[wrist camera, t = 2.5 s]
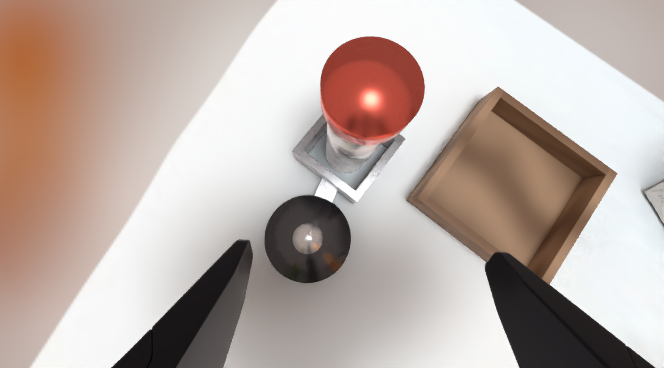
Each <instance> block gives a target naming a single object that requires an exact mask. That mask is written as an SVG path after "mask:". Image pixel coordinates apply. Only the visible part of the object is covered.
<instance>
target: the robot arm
mask: <svg viewBox="0 0 664 368" xmlns="http://www.w3.org/2000/svg"><path fill="white" fill-rule="evenodd" d="M252 259H253V253H252V249H251V244H250V241H249V240H241V239H239V240H237V241H236V242H235V243H234V244H233V245H232V246H231V247H230V248H229V249H228V250H227V251H226V252H225V253H224V254H223V255H222V256H221V257H220V258H219V259H218V260H217V261H216V262H215V263H214V264H213V265H212V266H211V267H210V268H209V269H208V270H207V271H206V272H205V273H204V274H203V275H202V277H201V278H200V279H199V280H198V281H197V282H196V283H195V284H194V285H193V286H192V287H191V288H190V289H189V290H188V291H187V292H186V293H185V294H184V295H183V296H182V297H181V298H180V299H179V300H178V301H177V302H176V303H175V304H174V305H173V306H172V307H171V308H170V309H169V310H168V312H167V313H166V314H165V315H164V316H163V317H162V318H161V319H160V320H159V321H158V322H157V323H156V324H155V325H154V326H153V327H152V330H149V331H148V332H147V333H146V334H145V335H144V336H143V337H142V338H141V339H140V340H139V341H138V342H137V343H136V344H135V345H134V346H133V347H132V348H131V349H130V350H129V351H128V352H127V353H126V354H125V355H124V356H123V357H122V358H121V359H120V360H119V361H118V362H117V363H116V364H115V365H114V366H113V367H111V368H223V367H224V363H225V360H226V357H227V354H228V351H229V348H230V345H231V341H232V338H233V335H234V332H235V329H236V326H237V322H238V319H239V316H240V313H241V310H242V307H243V303H244V299H245V294H246V290H247V284H248V279H249V274H250V269H251V264H252ZM485 272H486V275H487V279H488V282H489V285H490V289H491V292H492V296H493V299H494V303H495V306H496V309H497V312H498V315H499V318H500V320H501V323H502V325H503V328H504V330H505V333H506V335H507V338H508V340H509V343H510V345H511V348H512V350H513V353H514V355H515V358H516V360H517V363H518V365H519V368H655V367H654V366H652V365H651V364H650V363H649V362H647V361H646V360H645V359H643V358H642V357H641V356H640V355H638V354H637V353H636V352H634V351H633V350H632V349H631V348H629V347H628V346H626V345H625V344H624V343H623V342H622V341H620V340H619V339H618V338H617V337H615V336H614V335H613V334H611V333H610V332H609V331H608V330H606V329H605V328H604V327H603V326H601V325H600V324H599V323H597V322H596V321H595V320H594V319H592V318H591V317H590V316H589V315H587V314H586V313H585V312H583V311H582V310H581V309H580V308H578V307H577V306H576V305H575V304H573V303H572V302H571V301H569V300H568V299H567V298H566V297H564V296H563V295H562V294H561V293H559V292H558V291H557V290H555V289H554V288H553V287H552V286H550V285H549V284H548V283H547V282H545V281H544V280H543V279H541V278H540V277H539V276H538V275H536V274H535V273H534V272H533V271H531V270H530V269H529V268H527V267H526V266H525V265H524V264H522V263H521V262H520V261H519V260H517V259H516V258H515V257H513V256H512V255H511V254H509V253H507V252H495V253H494V254H493V255H492V256H491V257H490V259H489V260H488V262H487V263H486V265H485Z"/></svg>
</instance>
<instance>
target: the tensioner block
mask: <svg viewBox="0 0 664 368" xmlns="http://www.w3.org/2000/svg"><path fill="white" fill-rule="evenodd" d="M326 131H327V121H326V119H325V117H324V115H322V116H321V117H320V118H319V119H318V121H317V122H316V123H315V124H314V126H313V127H312V128H311V129H310V130H309V132H308V133H307V134H306V135H305V136H304V138H303V139H302V140H301V141H300V142H299V144H298V145H297V146H296V147H295V148H294V150H293V151H292V152H293V154H294V156H295V158H296V159H297V160H298V161H300V162H301V163H302V164H303V165H305V166H306V167H307V168H309V169H310V170H311V171H312V172H314V173H315V174H316V175H318V176H319V177H320V178H321V179H322V180H321V182H320V184H319V186H318V189H317V191H316V193H315V195H314V196H311V195H306V196H299V197H295V198H292V199H290V200H288V201H286V202H285V203H283V204H282V205H281V206H280V207H278V208H277V210H276V211H275V212H274V213H273V215H272V216H271V218H270V220H269V222H268V224H267V227H266V231H265V249H266V252H267V256H268V258H269V260H270V262H271V263H272V265H273V266H274V267H275V269H276V270H277V271H278V272H279V273H280V274H282V275H283V276H285V277H286V278H288V279H290V280H293V281H296V282H301V283H313V282H318V281H321V280H324V279H326V278H328V277H330V276H331V275H332V274H334V273H335V272H336V271H337V270H338V269H339V268H340V267H341V266H342V264H343V263H344V261H345V259H346V257H347V255H348V252H349V249H350V243H351V234H350V228H349V225H348V222H347V220H346V218H345V216H344V214H343V213H342V212H341V210H340V209H339V208H338V207H337V206H336V205H335V204H333V203H332V201H333V199H334V197H335V194H336V192H337V191H338V192H339V193H341V194H342V195H343V196H344V197H346V198H347V199H348V200H350V201H351V202H352V203H356V202H358V200H359V199H360V198H361V196H362V195H363V194H364V192H365V191H366V190H367V188H368V187H369V186H370V185H371V183H372V182H373V181H374V179H375V178H376V177H377V175H378V174H379V173H380V171H381V170H382V169H383V168H384V166H385V165H386V164H387V162H388V161H389V160H390V158H391V157H392V156H393V154H394V153H395V152H396V150H397V149H398V148H399V147H400V145H401V144H402V143H403V141H404V140H405V138H404V137H402V136H401V135H400V134H398V135H397V136H395V137H394V138H392V139H391V140H388V141H386V142H384V143H382V144H383V145H384V146H386V147H387V149H386V151H385V152H384V153H383V155H382V156H381V157H380V158H379V160H378V161H377V162H376V164H375V165H374V166H373V167H372V169H371V170H370V171H369V173H368V174H367V175H366V177H365V178H364V179H363V180H362V182H361V183H360V184H359V186H358V187H357V188H356V190H354V189H352V188H351V187H350V186H348V185H347V184H346V183H344V182H343V181H342V180H341V179H339V178H338V177H337V176H335V175H334V174H333V173H332V172H330V171H329V170H328V169H326V168H325V167H324V166H323V165H321V164H320V163H319V162H317V161H316V160H315V159H314V158H312V157H311V156H310V155H308V153H309V151H310V150H311V149H312V148H313V147H314V145H315V144H316V143H317V142H318V141H319V139H320V138H321V137H322V136H323V134H324V133H325V132H326Z"/></svg>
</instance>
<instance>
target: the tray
mask: <svg viewBox="0 0 664 368" xmlns="http://www.w3.org/2000/svg"><path fill="white" fill-rule="evenodd" d="M616 175H617V173H616V172H615V171H613V170H612V169H611V168H609V167H608V166H607V165H605V164H604V163H602V162H601V161H600V160H598V159H597V158H596V157H594V156H593V155H591V154H590V153H589V152H587V151H586V150H585V149H583V148H582V147H580V146H579V145H578V144H576V143H575V142H574V141H572V140H571V139H569V138H568V137H567V136H565V135H564V134H563V133H561V132H560V131H558V130H557V129H556V128H554V127H553V126H552V125H550V124H549V123H547V122H546V121H545V120H543V119H542V118H541V117H539V116H538V115H536V114H535V113H534V112H532V111H531V110H530V109H528V108H527V107H526V106H524V105H523V104H521V103H520V102H519V101H517V100H516V99H515V98H513V97H512V96H510V95H509V94H508V93H506V92H505V91H504V90H502V89H501V88H499V87H497V88H496V89H494V90H493V91H492V92H490V93H489V94H487V95H486V96H485V97H483V98H482V99H481V100H480V101H479V102H478V103H477V105H476V106H475V107H474V109H473V110H472V112H471V113H470V114H469V116H468V117H467V118H466V120H465V121H464V122H463V124H462V125H461V127H460V128H459V129H458V131H457V132H456V133H455V135H454V136H453V137H452V139H451V140H450V142H449V143H448V144H447V146H446V147H445V148H444V150H443V151H442V152H441V154H440V155H439V156H438V158H437V159H436V161H435V162H434V163H433V165H432V166H431V167H430V169H429V170H428V171H427V173H426V174H425V176H424V177H423V178H422V180H421V181H420V182H419V184H418V185H417V186H416V188H415V189H414V191H413V192H412V193H411V195H410V196H409V197H408V199H407V201H408V202H410V203H411V204H412V205H414V206H415V207H416V208H418V209H419V210H420V211H421V212H423V213H424V214H425V215H427V216H428V217H429V218H430V219H432V220H433V221H434V222H436V223H437V224H438V225H440V226H441V227H442V228H443V229H445V230H446V231H447V232H449V233H450V234H451V235H453V236H454V237H455V238H456V239H458V240H459V241H460V242H462V243H463V244H464V245H466V246H467V247H468V248H469V249H471V250H472V251H473V252H475V253H476V254H477V255H479V256H480V257H481V258H482V259H484V260H485V261H486V262H488V260H489V259H490V257H491V256H492V255H493V254H494V253H495V252H507V253H509V254H511V255H512V256H513V257H515V258H516V259H517V260H519V261H520V262H521V263H522V264H524V265H525V266H526V267H527V268H529V269H530V270H531V271H533V272H534V273H535V274H536V275H538V276H539V277H540V278H541V279H543V280H544V281H545V282H547V283H548V284H550V282H551V281H552V279H553V278H554V276H555V274H556V273H557V271H558V269H559V268H560V266H561V265H562V263H563V261H564V260H565V258H566V256H567V255H568V253H569V251H570V250H571V248H572V247H573V245H574V243H575V242H576V240H577V238H578V237H579V235H580V234H581V232H582V230H583V229H584V227H585V225H586V224H587V222H588V221H589V219H590V217H591V216H592V214H593V212H594V211H595V209H596V207H597V206H598V204H599V203H600V201H601V199H602V198H603V196H604V194H605V193H606V191H607V190H608V188H609V186H610V185H611V183H612V181H613V180H614V178H615V177H616Z"/></svg>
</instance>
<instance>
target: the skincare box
mask: <svg viewBox="0 0 664 368" xmlns="http://www.w3.org/2000/svg"><path fill="white" fill-rule="evenodd" d="M644 192H645V194H646V196H647V198H648V200H649V201H650V202H651V203H652V205H653V206H654V208H655V210H656V211H657V213H658V215H659V217H660V218H661V220H662V222H663V223H664V181H663V182H661V183H659V184H657V185H655V186H653V187H651V188H649V189H647V190H645V191H644Z"/></svg>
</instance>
